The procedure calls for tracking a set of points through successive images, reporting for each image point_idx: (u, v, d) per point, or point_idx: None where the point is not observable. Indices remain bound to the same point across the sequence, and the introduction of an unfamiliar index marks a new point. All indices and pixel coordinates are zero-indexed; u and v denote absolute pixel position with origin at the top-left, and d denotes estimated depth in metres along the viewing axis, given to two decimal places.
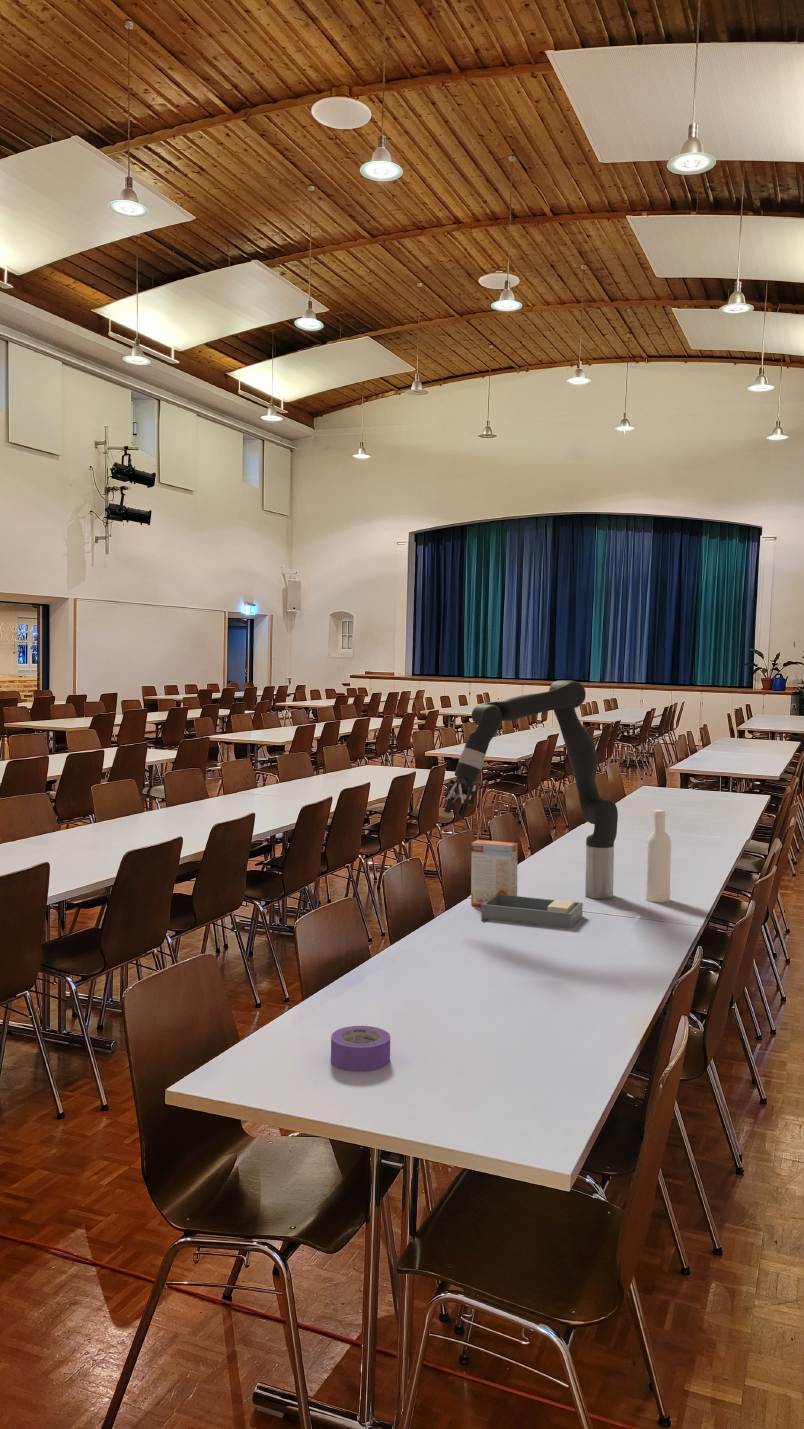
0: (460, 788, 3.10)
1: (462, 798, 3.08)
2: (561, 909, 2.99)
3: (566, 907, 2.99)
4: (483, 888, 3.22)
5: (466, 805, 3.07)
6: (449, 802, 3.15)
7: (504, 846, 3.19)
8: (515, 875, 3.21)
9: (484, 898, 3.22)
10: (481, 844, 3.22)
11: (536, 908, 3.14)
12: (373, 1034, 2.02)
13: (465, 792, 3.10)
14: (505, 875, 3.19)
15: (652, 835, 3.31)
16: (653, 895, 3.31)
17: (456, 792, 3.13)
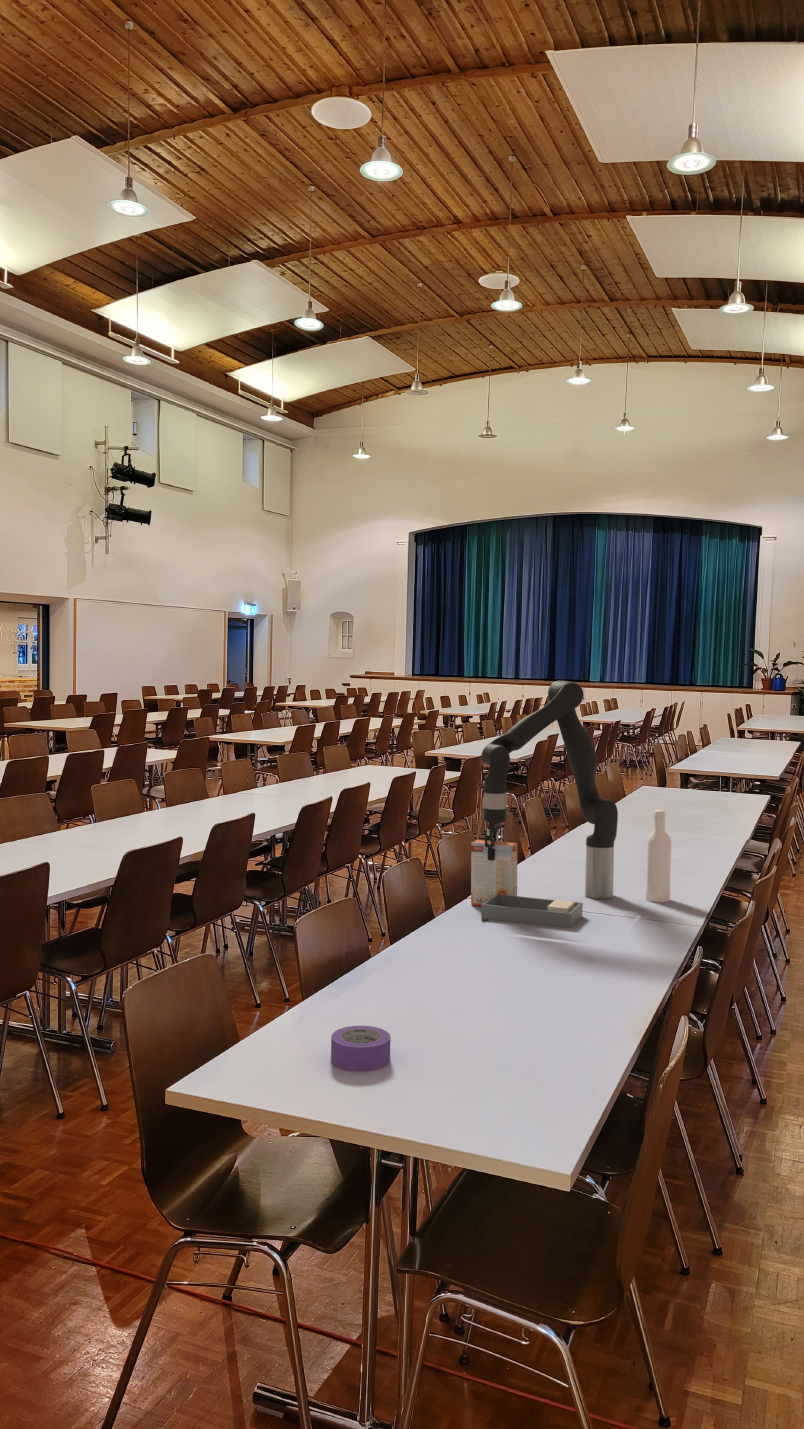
0: None
1: None
2: (561, 909, 2.99)
3: (566, 907, 2.99)
4: (483, 888, 3.22)
5: (490, 849, 3.19)
6: None
7: (504, 846, 3.19)
8: (515, 875, 3.21)
9: (484, 898, 3.22)
10: (481, 844, 3.22)
11: (536, 908, 3.14)
12: (373, 1034, 2.02)
13: None
14: (505, 875, 3.19)
15: (652, 835, 3.31)
16: (653, 895, 3.31)
17: None
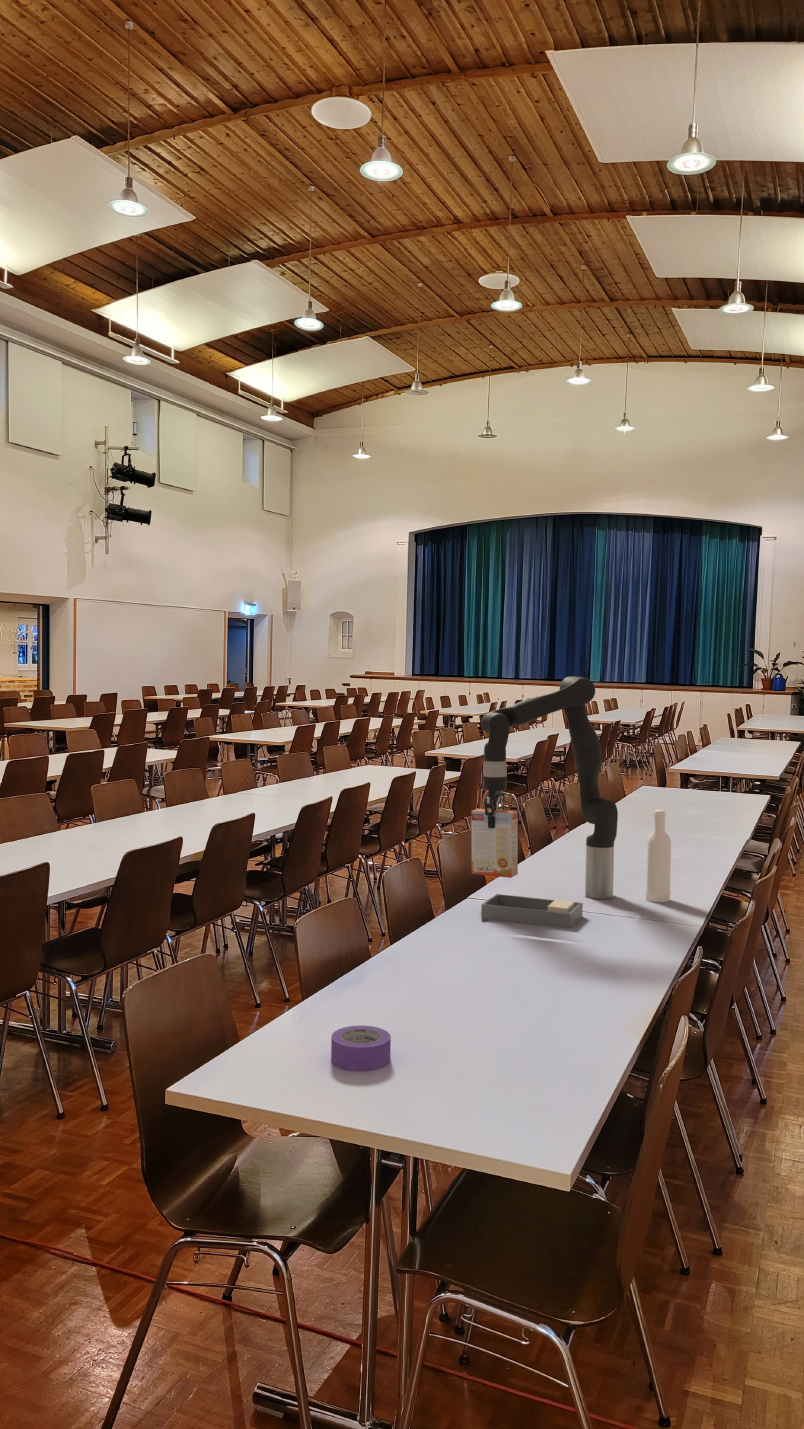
0: None
1: None
2: (561, 909, 2.99)
3: (566, 907, 2.99)
4: (484, 856, 3.22)
5: (490, 817, 3.18)
6: None
7: (504, 814, 3.18)
8: (515, 843, 3.21)
9: (484, 866, 3.22)
10: (481, 812, 3.22)
11: (536, 908, 3.14)
12: (373, 1034, 2.02)
13: None
14: (505, 843, 3.18)
15: (652, 835, 3.31)
16: (653, 895, 3.31)
17: None
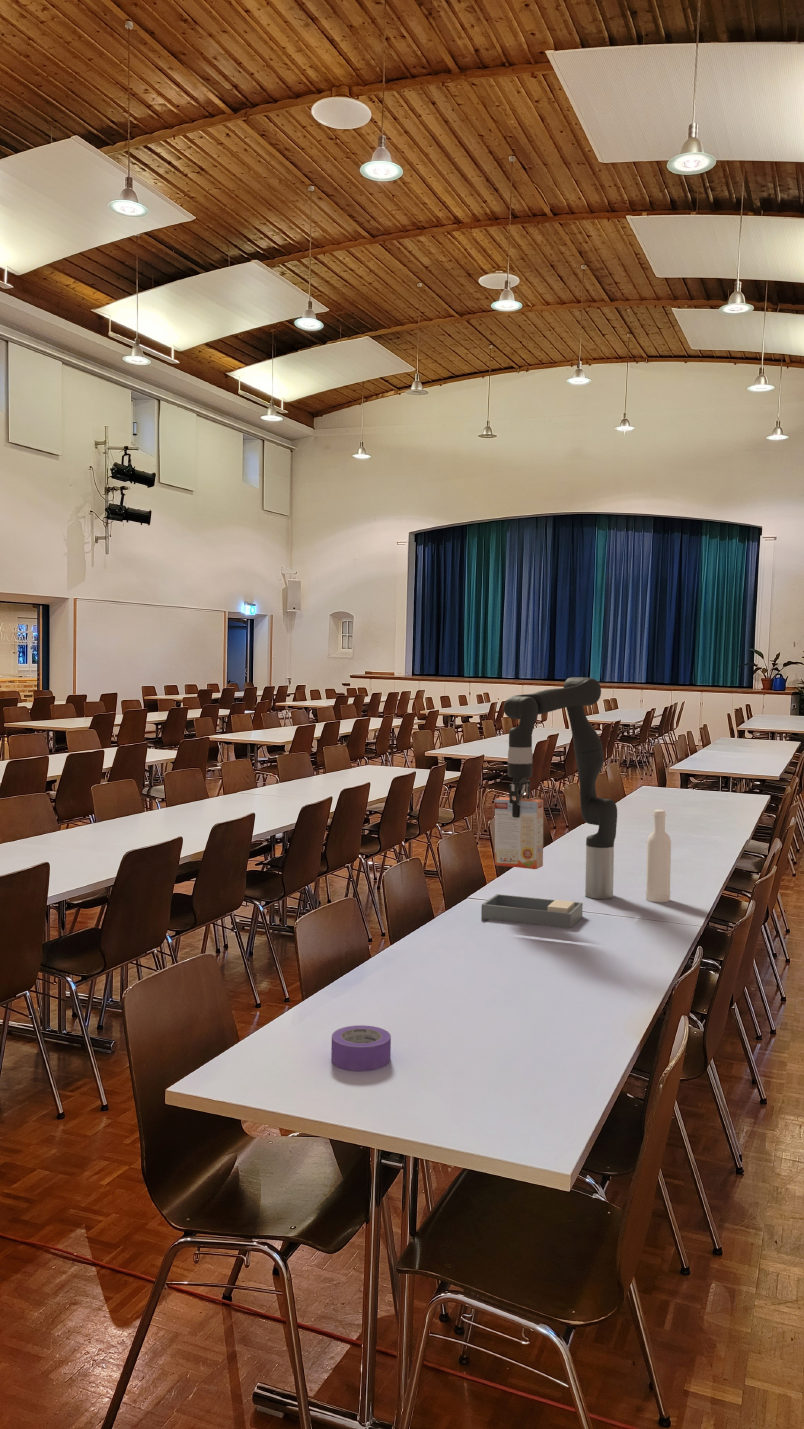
0: None
1: None
2: (561, 909, 2.99)
3: (566, 907, 2.99)
4: (508, 847, 3.07)
5: (515, 805, 3.04)
6: None
7: (530, 803, 3.03)
8: (541, 833, 3.06)
9: (508, 857, 3.07)
10: (505, 800, 3.07)
11: (536, 908, 3.14)
12: (374, 1034, 2.02)
13: None
14: (531, 833, 3.04)
15: (652, 835, 3.31)
16: (653, 895, 3.31)
17: None
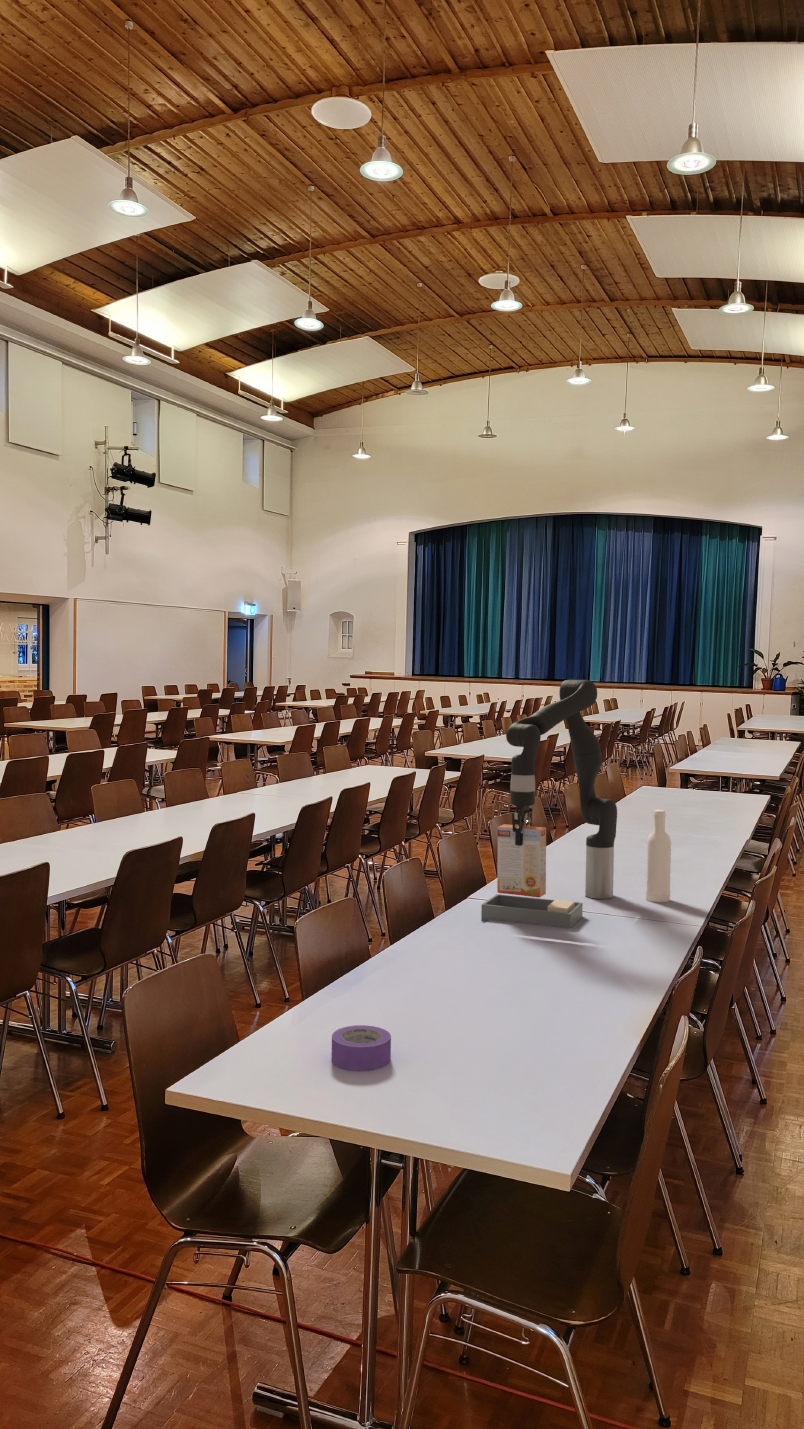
0: None
1: None
2: (561, 909, 2.99)
3: (566, 907, 2.99)
4: (510, 875, 3.06)
5: (518, 833, 3.03)
6: None
7: (533, 831, 3.03)
8: (544, 861, 3.05)
9: (511, 885, 3.07)
10: (508, 828, 3.06)
11: (536, 908, 3.14)
12: (374, 1034, 2.02)
13: None
14: (534, 861, 3.03)
15: (652, 835, 3.31)
16: (653, 895, 3.31)
17: None
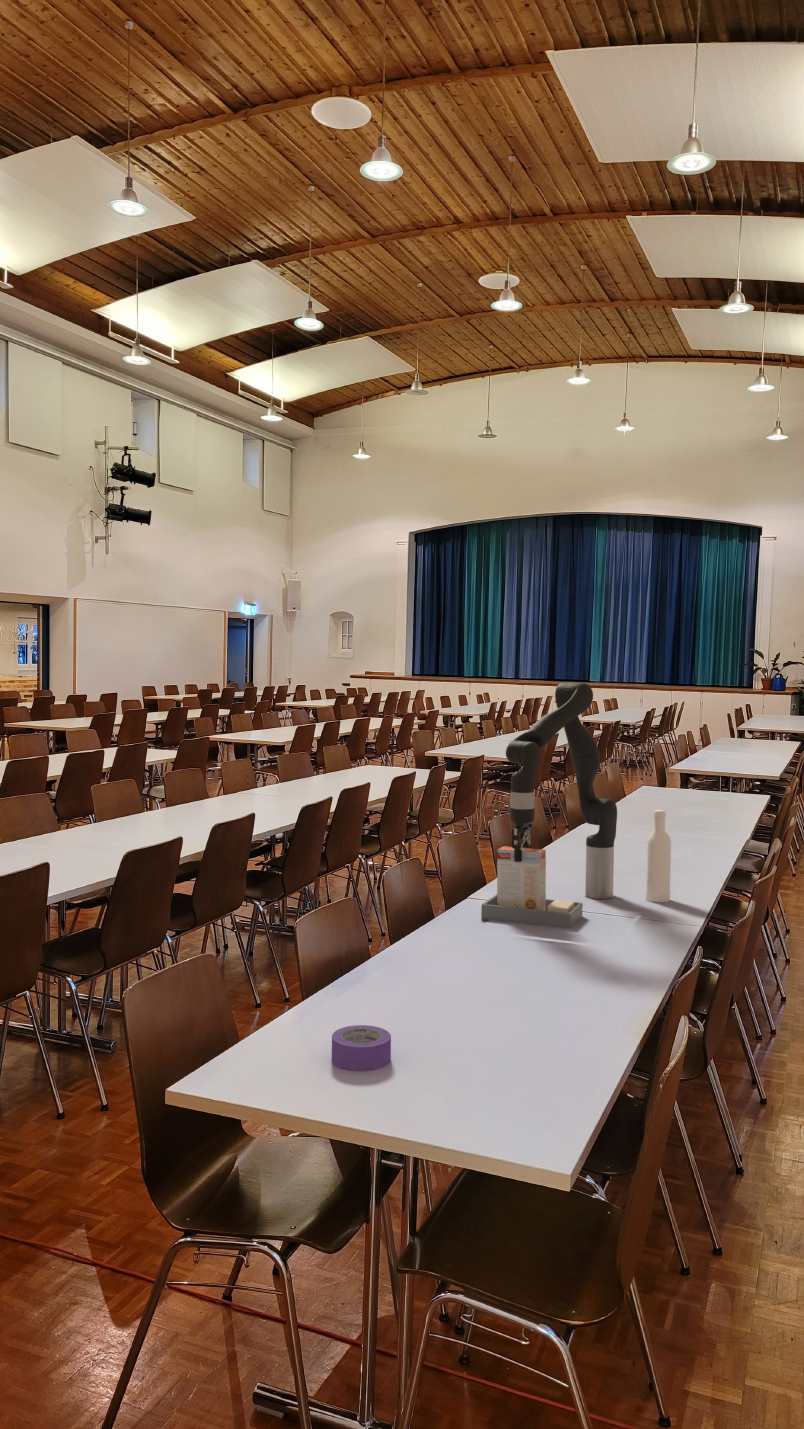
0: None
1: None
2: (561, 909, 2.99)
3: (566, 907, 2.99)
4: (510, 897, 3.07)
5: (517, 850, 3.03)
6: (523, 846, 3.11)
7: (533, 853, 3.03)
8: (544, 883, 3.06)
9: None
10: (507, 850, 3.06)
11: None
12: (374, 1034, 2.02)
13: None
14: (534, 884, 3.03)
15: (652, 835, 3.31)
16: (653, 895, 3.31)
17: None
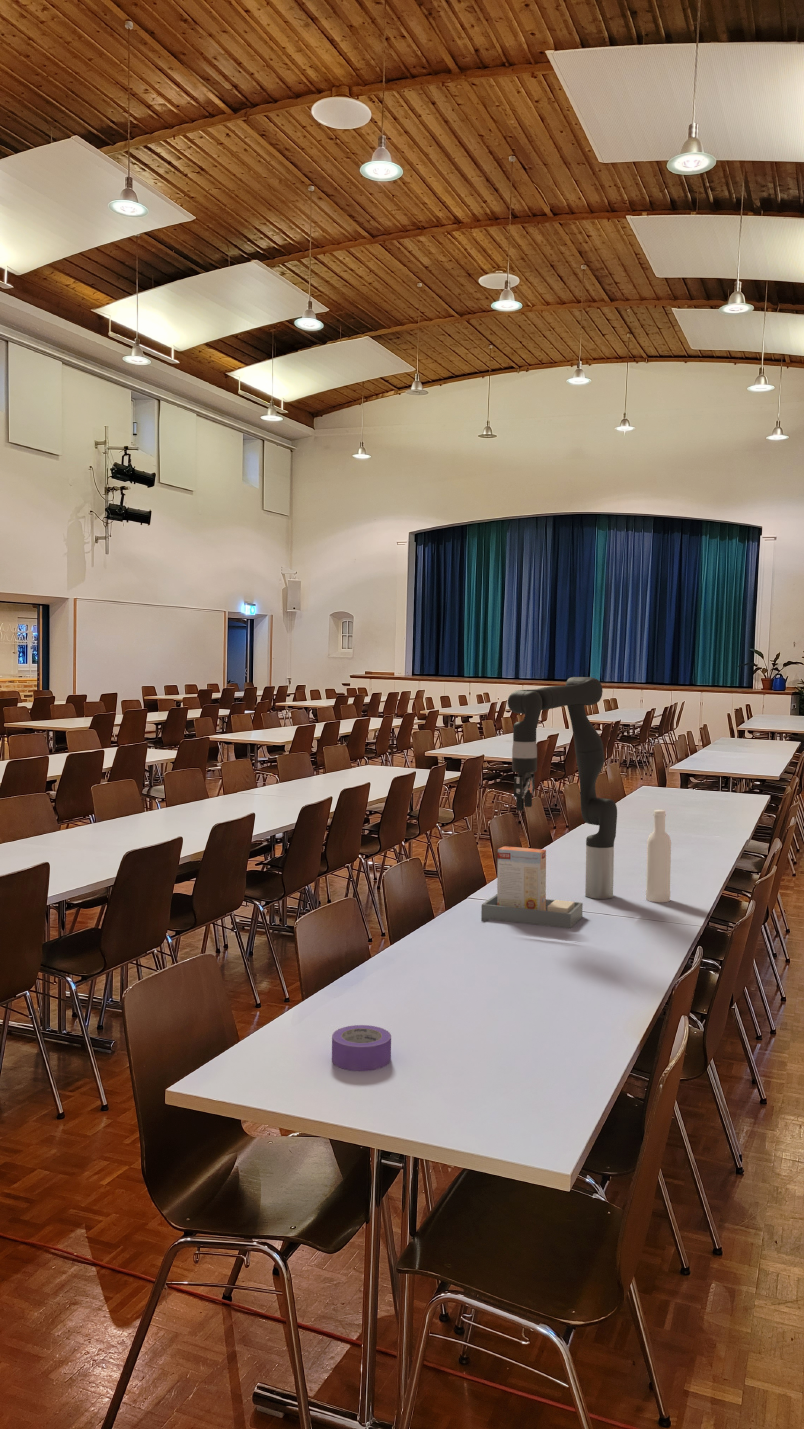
0: None
1: None
2: (561, 909, 2.99)
3: (566, 907, 2.99)
4: (511, 897, 3.07)
5: (519, 799, 3.02)
6: (526, 796, 3.11)
7: (533, 853, 3.03)
8: (544, 883, 3.06)
9: None
10: (508, 850, 3.07)
11: None
12: (374, 1034, 2.02)
13: None
14: (534, 884, 3.03)
15: (652, 835, 3.31)
16: (653, 895, 3.31)
17: None
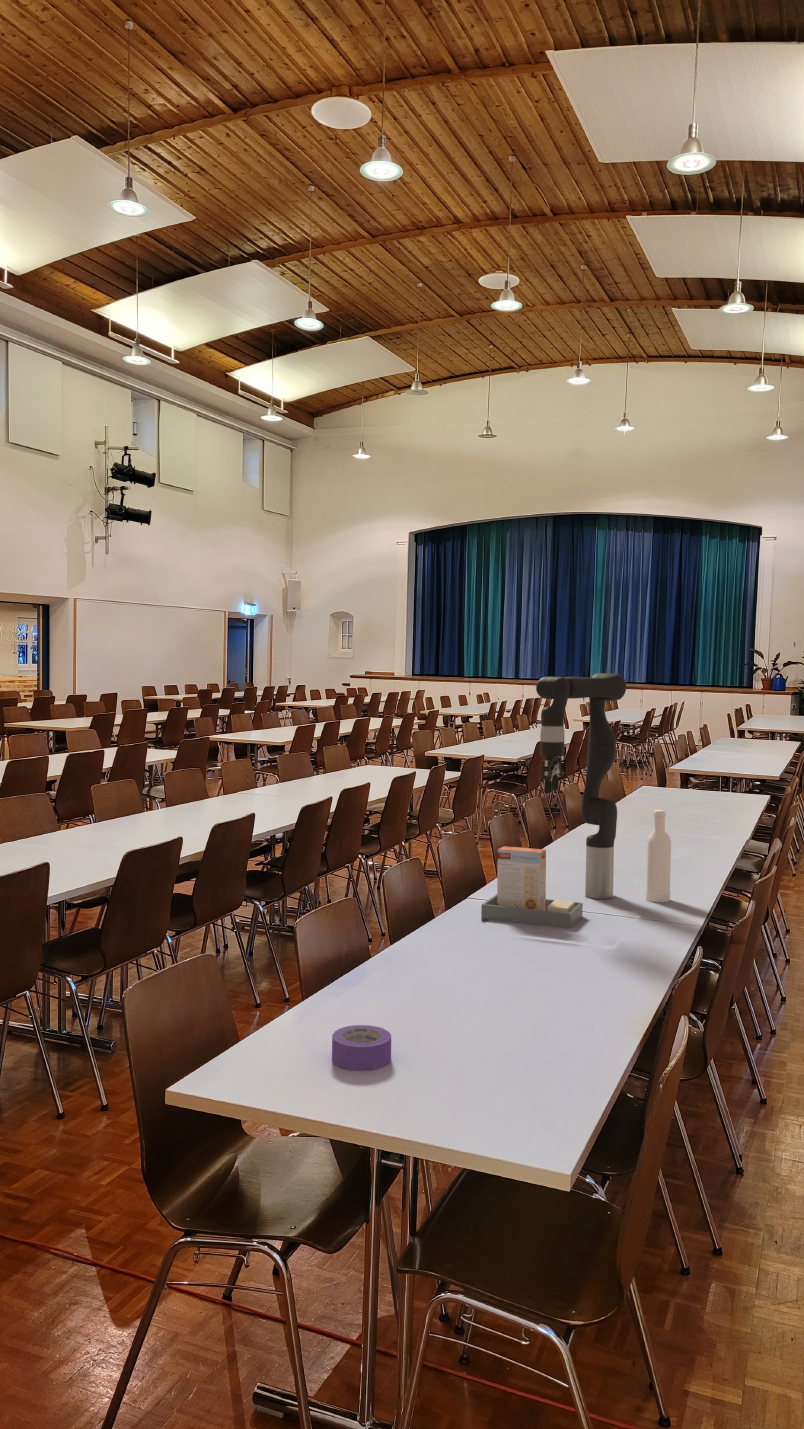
0: None
1: None
2: (561, 909, 2.99)
3: (566, 907, 2.99)
4: (511, 897, 3.07)
5: (547, 781, 3.12)
6: (553, 779, 3.20)
7: (533, 853, 3.03)
8: (544, 883, 3.06)
9: None
10: (508, 850, 3.07)
11: None
12: (374, 1033, 2.02)
13: None
14: (534, 884, 3.03)
15: (652, 835, 3.31)
16: (653, 895, 3.31)
17: None
